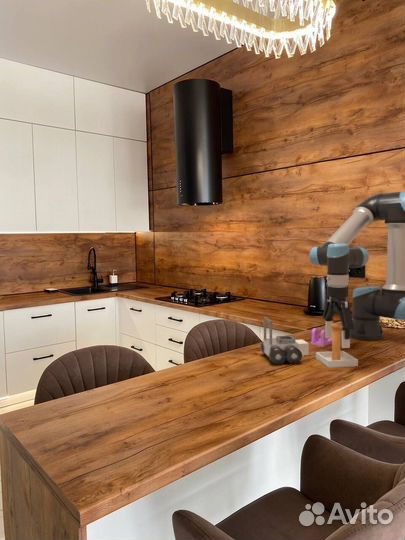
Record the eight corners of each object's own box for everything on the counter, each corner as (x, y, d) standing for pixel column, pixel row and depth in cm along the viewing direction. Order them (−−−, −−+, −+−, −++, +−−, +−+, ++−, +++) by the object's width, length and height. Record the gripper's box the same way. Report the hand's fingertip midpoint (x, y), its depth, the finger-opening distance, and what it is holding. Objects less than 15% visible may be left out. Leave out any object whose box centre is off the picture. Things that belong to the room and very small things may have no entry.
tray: (343, 357, 160) (343, 350, 160) (357, 366, 149) (358, 359, 149) (315, 358, 159) (315, 352, 159) (328, 368, 148) (328, 361, 148)
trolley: (289, 352, 167) (289, 314, 165) (302, 363, 153) (302, 321, 151) (260, 354, 165) (260, 315, 164) (270, 365, 151) (270, 323, 150)
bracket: (323, 347, 175) (323, 330, 174) (311, 344, 179) (311, 328, 178) (337, 341, 185) (337, 325, 184) (325, 338, 188) (325, 323, 188)
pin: (338, 359, 156) (339, 322, 155) (343, 362, 152) (344, 325, 151) (328, 359, 156) (329, 323, 154) (333, 363, 152) (333, 325, 150)
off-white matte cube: (302, 351, 169) (302, 339, 169) (308, 355, 163) (308, 343, 163) (288, 352, 168) (288, 340, 168) (294, 356, 162) (294, 344, 162)
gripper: (314, 281, 163) (314, 334, 165) (343, 291, 139) (343, 353, 141) (332, 281, 164) (331, 333, 166) (365, 290, 140) (364, 351, 142)
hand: (337, 342), depth 154 cm, fingers open, 13 cm apart
